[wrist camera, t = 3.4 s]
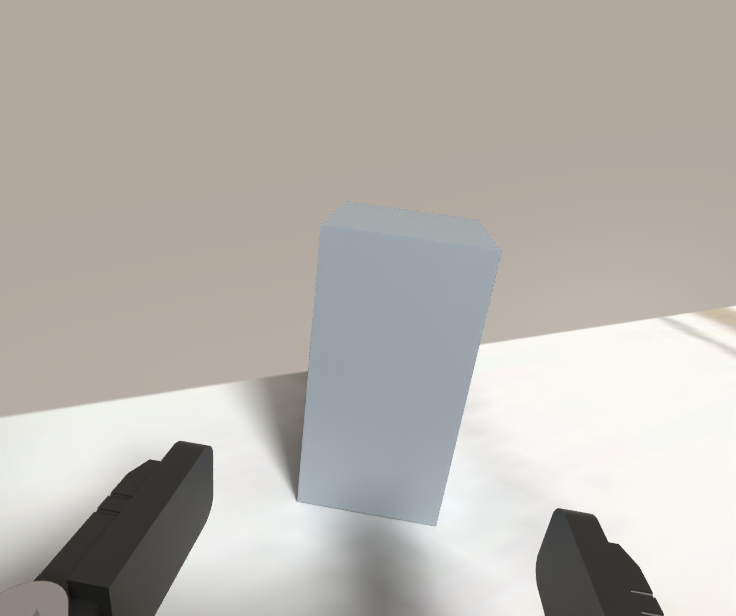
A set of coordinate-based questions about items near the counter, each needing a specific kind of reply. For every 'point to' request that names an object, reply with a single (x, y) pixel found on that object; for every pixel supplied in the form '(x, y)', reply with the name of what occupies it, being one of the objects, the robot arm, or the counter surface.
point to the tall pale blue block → (392, 357)
